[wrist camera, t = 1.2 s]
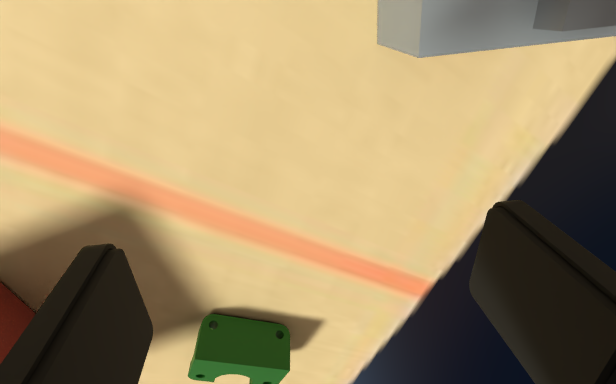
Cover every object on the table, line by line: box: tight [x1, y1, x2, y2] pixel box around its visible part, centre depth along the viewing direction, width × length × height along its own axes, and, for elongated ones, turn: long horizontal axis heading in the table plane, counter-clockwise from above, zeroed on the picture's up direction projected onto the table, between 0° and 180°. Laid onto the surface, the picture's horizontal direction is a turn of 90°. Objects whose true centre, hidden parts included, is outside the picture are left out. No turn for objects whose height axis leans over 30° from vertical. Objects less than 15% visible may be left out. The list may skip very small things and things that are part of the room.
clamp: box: [188, 314, 290, 384], centre depth 43 cm, size 12×6×9 cm, turn 64°
